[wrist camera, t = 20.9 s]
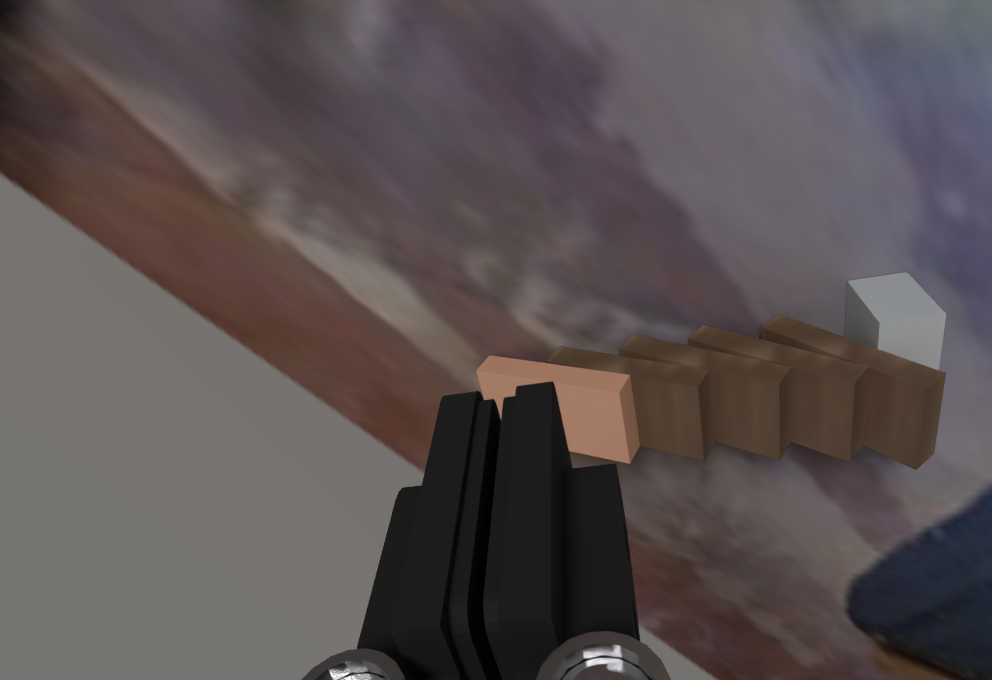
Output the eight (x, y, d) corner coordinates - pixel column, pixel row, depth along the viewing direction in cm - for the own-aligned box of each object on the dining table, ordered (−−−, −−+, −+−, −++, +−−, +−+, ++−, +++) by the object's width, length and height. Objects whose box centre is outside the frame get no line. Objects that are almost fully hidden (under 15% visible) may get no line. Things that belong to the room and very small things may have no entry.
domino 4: (703, 324, 40) (868, 366, 34) (708, 394, 43) (862, 444, 37) (687, 338, 39) (854, 383, 33) (694, 408, 42) (849, 462, 36)
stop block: (906, 272, 38) (946, 314, 34) (894, 390, 42) (929, 440, 38) (847, 280, 38) (879, 323, 34) (841, 397, 42) (870, 446, 38)
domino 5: (779, 314, 39) (945, 372, 33) (779, 385, 42) (934, 453, 35) (760, 326, 39) (926, 389, 32) (761, 397, 41) (915, 470, 34)
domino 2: (559, 346, 42) (708, 369, 37) (572, 411, 44) (713, 442, 39) (546, 361, 41) (698, 387, 36) (560, 427, 43) (704, 460, 38)
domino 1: (489, 355, 42) (630, 374, 38) (506, 419, 45) (640, 445, 40) (475, 370, 41) (619, 392, 37) (494, 435, 44) (630, 463, 39)
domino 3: (632, 334, 41) (791, 366, 35) (642, 402, 43) (790, 441, 38) (619, 349, 40) (779, 384, 34) (629, 417, 42) (779, 460, 37)
